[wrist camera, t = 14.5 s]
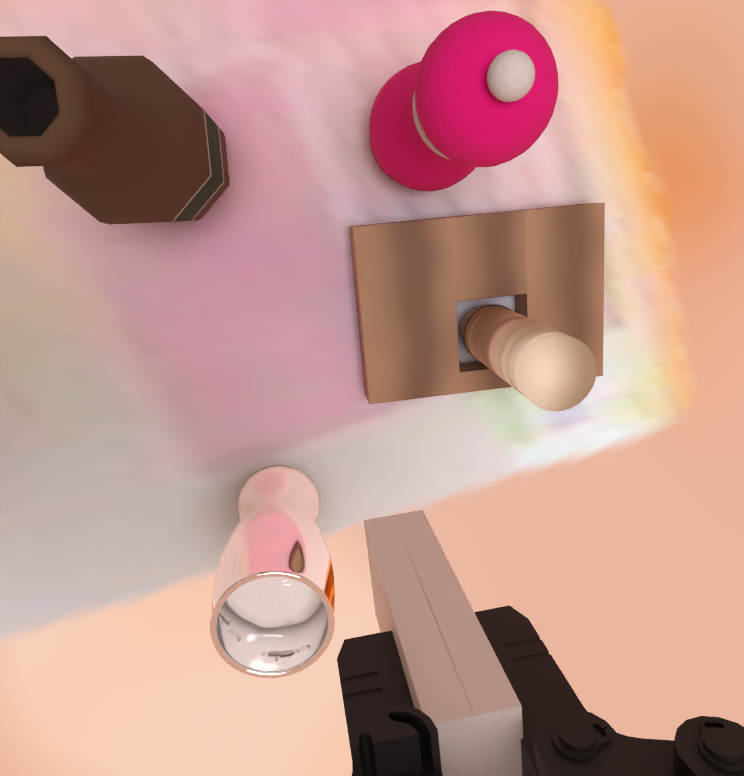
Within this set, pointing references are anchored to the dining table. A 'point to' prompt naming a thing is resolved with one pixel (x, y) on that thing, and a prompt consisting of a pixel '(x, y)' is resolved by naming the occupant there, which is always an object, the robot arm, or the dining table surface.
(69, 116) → the beer bottle
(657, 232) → the dining table surface
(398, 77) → the pepper mill
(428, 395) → the board
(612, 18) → the dining table surface
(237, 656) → the beer glass
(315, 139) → the dining table surface
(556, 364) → the peg
